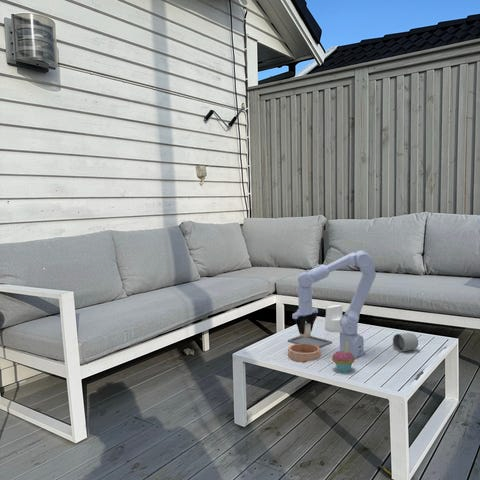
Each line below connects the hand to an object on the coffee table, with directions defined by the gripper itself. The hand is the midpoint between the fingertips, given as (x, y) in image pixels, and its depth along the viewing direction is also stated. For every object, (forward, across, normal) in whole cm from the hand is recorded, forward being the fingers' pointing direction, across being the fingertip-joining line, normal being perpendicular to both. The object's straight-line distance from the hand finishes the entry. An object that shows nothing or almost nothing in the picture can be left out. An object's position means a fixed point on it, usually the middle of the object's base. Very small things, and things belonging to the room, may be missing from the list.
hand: (305, 332), depth 192 cm
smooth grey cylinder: (+1, 0, 0) cm, 1 cm away
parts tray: (+9, -11, -7) cm, 16 cm away
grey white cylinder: (+9, -37, -12) cm, 40 cm away
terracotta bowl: (+9, +4, +3) cm, 10 cm away
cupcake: (+9, +5, +23) cm, 25 cm away
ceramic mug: (+9, -33, +27) cm, 43 cm away
